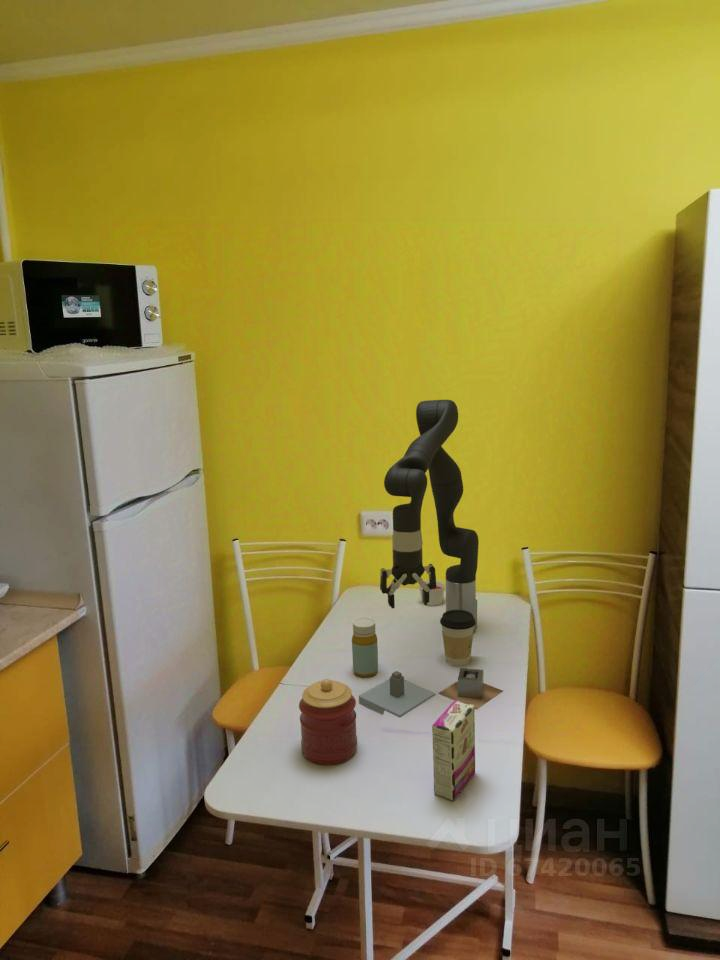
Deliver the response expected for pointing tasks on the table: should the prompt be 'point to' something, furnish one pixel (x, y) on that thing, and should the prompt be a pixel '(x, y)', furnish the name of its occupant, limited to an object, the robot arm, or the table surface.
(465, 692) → the recessed metal cube
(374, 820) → the table surface
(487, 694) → the stand
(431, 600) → the candle
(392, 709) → the square plate
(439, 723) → the candy bar box
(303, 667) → the table surface
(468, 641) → the coffee cup
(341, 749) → the canister
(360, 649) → the bottle
